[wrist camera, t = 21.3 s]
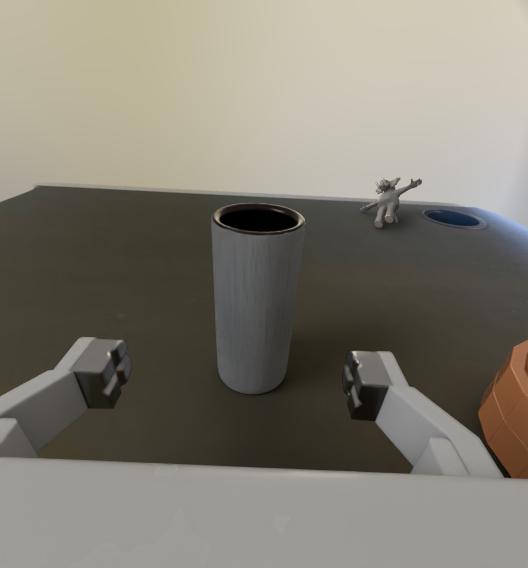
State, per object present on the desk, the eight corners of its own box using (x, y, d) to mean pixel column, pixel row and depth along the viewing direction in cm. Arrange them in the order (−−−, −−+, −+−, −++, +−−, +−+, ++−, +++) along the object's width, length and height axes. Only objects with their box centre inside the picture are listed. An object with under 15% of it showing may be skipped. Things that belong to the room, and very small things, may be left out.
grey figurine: (342, 223, 46) (353, 189, 51) (364, 249, 48) (373, 214, 53) (407, 191, 38) (412, 156, 43) (430, 224, 41) (432, 186, 46)
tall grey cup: (212, 393, 18) (202, 230, 13) (223, 341, 22) (219, 200, 16) (287, 398, 18) (310, 236, 13) (285, 345, 22) (301, 204, 16)
